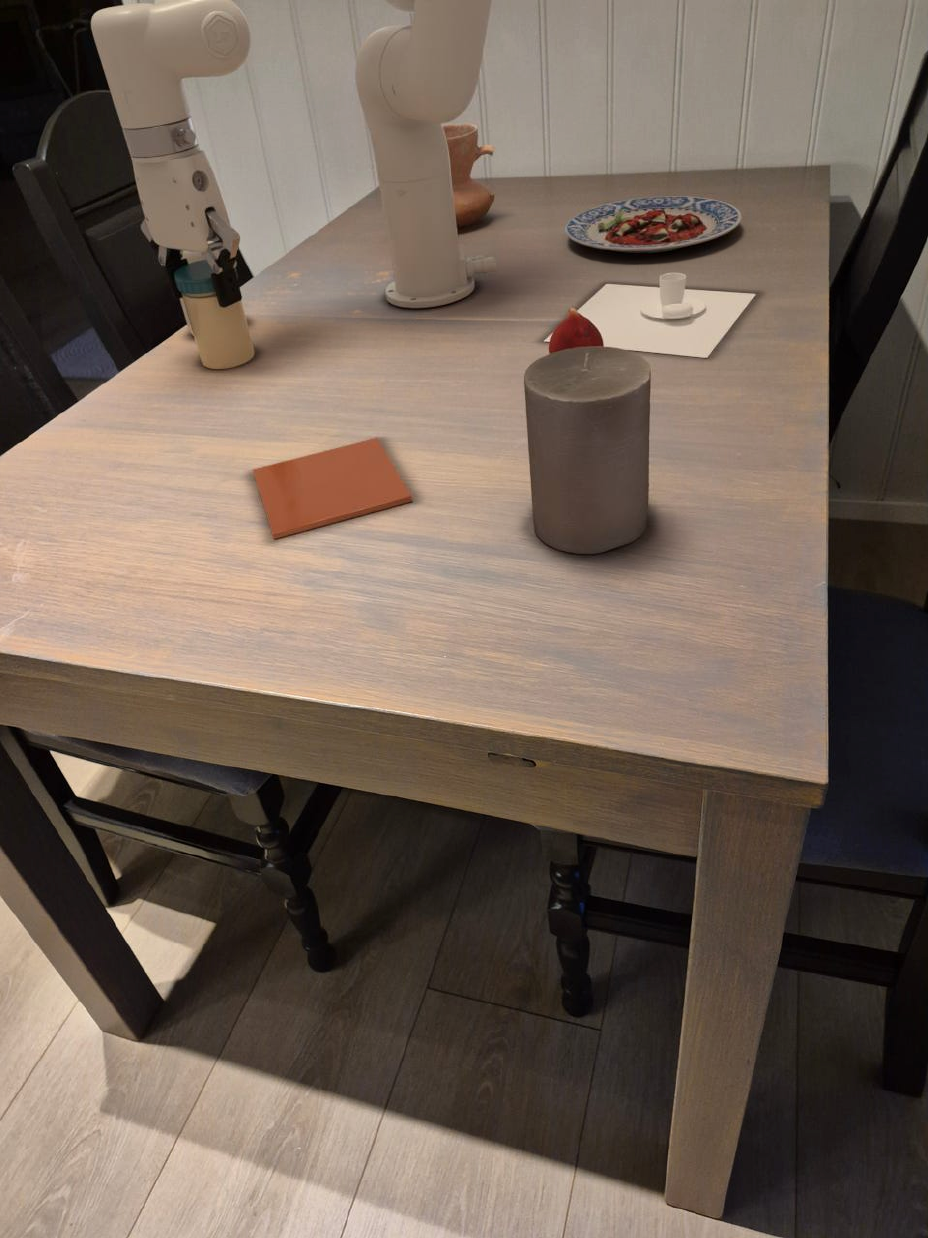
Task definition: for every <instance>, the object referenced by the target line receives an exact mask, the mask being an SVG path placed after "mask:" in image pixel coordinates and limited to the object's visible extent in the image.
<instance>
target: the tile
mask: <svg viewBox="0 0 928 1238" xmlns="http://www.w3.org/2000/svg"><path fill="white" fill-rule="evenodd" d="M252 472H253V476H254V479H255V482H256V483H255V484H256V486H257V488H258V489H257V490H258V492H259V495H260V499H261V501H262V502H261V503H262V505H263V508H264V511H265V514H266V517H267V521H268V524H269V528H270V531H271V534H272V537H273V539H274V540H276V539H280V538H283V537H288V536H290V535H291V536H292V535H294V534H299V533H301V532H307V531H308V530H312V529H317V528H320V527H323V526H327V525H331V524H335V523H339V522H342V521H345V520H349V519H352V518H356V517H361V516H364V515H367V514H370V513H375V512H378V511H382V510H386V509H389V508H393V507H396V506H400V505H405V504H407V503H411V502H413V497H412V495H411V493H410V491H409V489H408V488H407V486H406V484H405V482H404V481H403V479H402V477H401V475H399V472H398V471H397V469H396V467H395V465H394V463H393V462H392V461H391V459H390V457H389V456H388V454H387V452H386V450H385V449H384V447H383V445H382V444H381V442H380V440H379V439H378V437H374V438H371V439H366V440H363V441H358V442H355V443H351V444H346V445H343V446H340V447H336V448H335V447H334V448H331V449H327V450H324V451H320V452H316V453H313V454H308V455H305V456H301V457H298V458H293V459H289V460H285V461H281V462H278V463H274V464H270V465H265V466H261V467H258V468H254V469H252Z"/></svg>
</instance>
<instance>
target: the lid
mask: <svg viewBox="0 0 928 1238" xmlns="http://www.w3.org/2000/svg"><path fill="white" fill-rule="evenodd" d="M234 268H235V272H236V276H237V280H238V281H239V274H238V270H237V268H236V267H234ZM212 273H214V271H213V270H212V268H211V266H210V265H209V263H208V262H207V260H202V261H197V262H193V263H190V264H187V265H185V266H183V267H181V268H179V269H178V270H176V272H175V273H174V277H175V282H176V286H177V288H178V290H179V291H180V292H182V293H186V294H206V293H212V292H215V289H214V285H213V282H212V278H211V274H212Z"/></svg>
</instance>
